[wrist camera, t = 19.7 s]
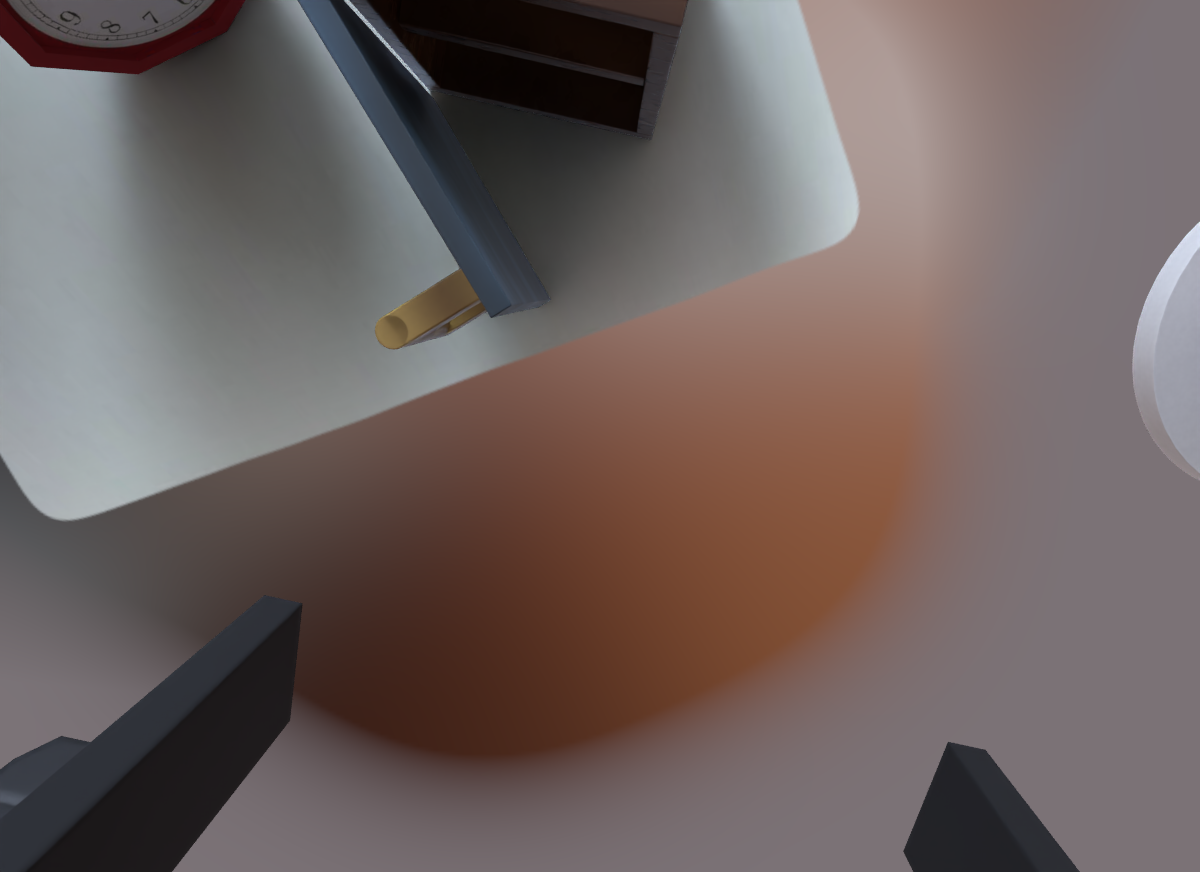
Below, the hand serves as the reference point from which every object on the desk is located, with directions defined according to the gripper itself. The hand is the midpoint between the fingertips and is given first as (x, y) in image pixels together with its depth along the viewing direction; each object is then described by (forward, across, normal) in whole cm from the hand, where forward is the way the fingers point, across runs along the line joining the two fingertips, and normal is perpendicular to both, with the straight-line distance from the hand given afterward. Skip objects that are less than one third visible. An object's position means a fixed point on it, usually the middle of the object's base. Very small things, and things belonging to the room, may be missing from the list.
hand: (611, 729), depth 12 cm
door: (+31, -14, +10) cm, 35 cm away
